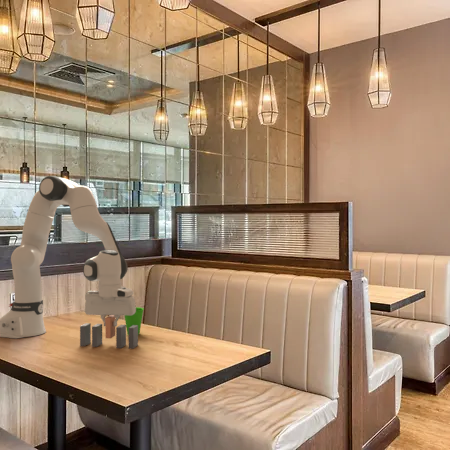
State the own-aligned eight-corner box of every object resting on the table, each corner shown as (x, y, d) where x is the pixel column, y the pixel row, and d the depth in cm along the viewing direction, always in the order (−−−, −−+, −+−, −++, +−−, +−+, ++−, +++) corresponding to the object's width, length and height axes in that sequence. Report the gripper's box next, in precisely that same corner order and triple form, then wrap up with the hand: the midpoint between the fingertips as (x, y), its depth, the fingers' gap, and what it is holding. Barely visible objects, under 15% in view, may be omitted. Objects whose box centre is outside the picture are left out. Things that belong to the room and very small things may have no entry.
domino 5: (128, 348, 176) (128, 327, 176) (133, 345, 181) (133, 325, 181) (133, 348, 176) (133, 328, 176) (137, 345, 180) (137, 325, 180)
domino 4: (116, 348, 177) (116, 327, 177) (121, 344, 182) (121, 324, 182) (121, 348, 176) (121, 327, 176) (125, 344, 181) (126, 324, 181)
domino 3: (105, 338, 178) (105, 317, 178) (110, 335, 183) (110, 315, 183) (110, 338, 177) (110, 318, 177) (115, 335, 182) (115, 315, 182)
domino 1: (80, 346, 179) (80, 325, 179) (85, 342, 184) (85, 323, 184) (84, 346, 179) (84, 326, 179) (90, 343, 184) (90, 323, 184)
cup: (146, 332, 202) (146, 307, 202) (140, 337, 193) (140, 311, 193) (126, 331, 203) (126, 307, 203) (120, 336, 194) (120, 311, 194)
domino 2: (92, 346, 178) (92, 326, 178) (97, 343, 183) (97, 323, 183) (96, 347, 178) (96, 326, 178) (102, 343, 183) (102, 323, 183)
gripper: (81, 292, 178) (82, 327, 178) (131, 292, 175) (132, 328, 175) (88, 289, 185) (89, 323, 185) (137, 290, 182) (137, 324, 182)
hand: (110, 326), depth 180 cm, fingers closed on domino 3, 2 cm apart
